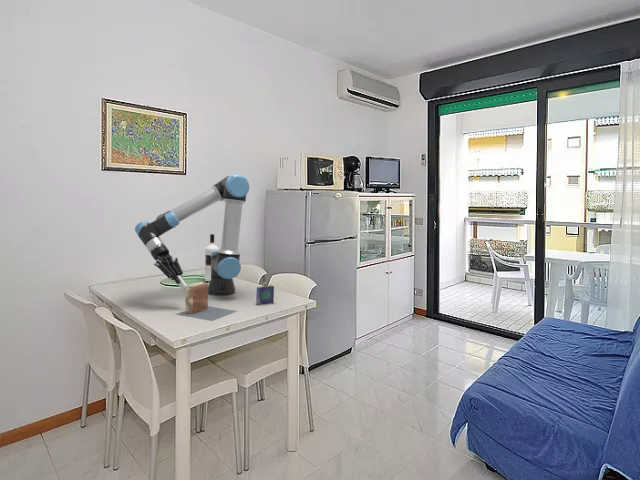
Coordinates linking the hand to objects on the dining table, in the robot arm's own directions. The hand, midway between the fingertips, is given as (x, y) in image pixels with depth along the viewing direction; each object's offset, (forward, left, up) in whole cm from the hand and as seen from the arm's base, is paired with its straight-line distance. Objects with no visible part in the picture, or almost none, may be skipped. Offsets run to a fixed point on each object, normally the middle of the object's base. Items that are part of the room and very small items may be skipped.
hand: (184, 288), depth 181 cm
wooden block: (+7, 0, -10) cm, 12 cm away
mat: (+13, 0, -10) cm, 16 cm away
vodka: (-34, +60, -10) cm, 70 cm away
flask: (+25, +29, -10) cm, 40 cm away
